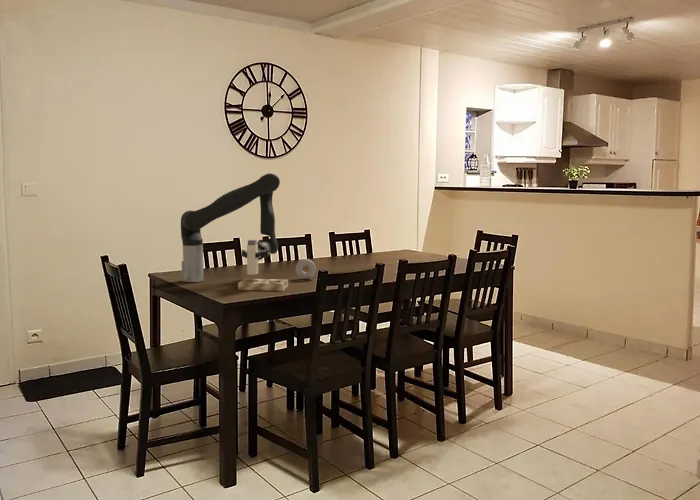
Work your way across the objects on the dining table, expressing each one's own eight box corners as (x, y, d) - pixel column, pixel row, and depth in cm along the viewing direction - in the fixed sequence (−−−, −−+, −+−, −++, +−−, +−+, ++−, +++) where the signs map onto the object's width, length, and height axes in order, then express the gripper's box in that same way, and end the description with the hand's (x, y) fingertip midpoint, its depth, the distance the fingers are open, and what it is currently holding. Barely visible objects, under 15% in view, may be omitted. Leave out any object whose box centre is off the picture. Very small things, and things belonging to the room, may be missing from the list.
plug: (247, 274, 280) (246, 240, 278) (249, 272, 284) (248, 239, 282) (256, 274, 279) (255, 240, 278) (258, 273, 283) (257, 239, 282)
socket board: (238, 289, 277) (238, 282, 276) (244, 285, 288) (244, 278, 288) (283, 290, 275) (283, 283, 275) (288, 286, 287) (288, 278, 286)
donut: (295, 279, 305) (295, 259, 304) (296, 278, 309) (296, 258, 308) (315, 279, 305) (315, 259, 304) (316, 278, 308) (316, 258, 307)
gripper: (244, 242, 295) (234, 247, 278) (274, 243, 294) (266, 247, 277) (244, 258, 296) (235, 263, 279) (274, 258, 295) (267, 264, 278)
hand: (251, 255), depth 278 cm, fingers closed on plug, 4 cm apart
